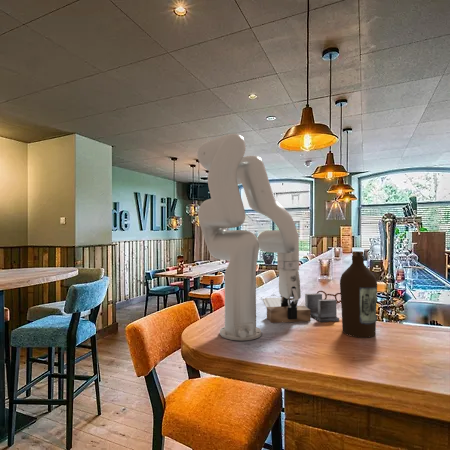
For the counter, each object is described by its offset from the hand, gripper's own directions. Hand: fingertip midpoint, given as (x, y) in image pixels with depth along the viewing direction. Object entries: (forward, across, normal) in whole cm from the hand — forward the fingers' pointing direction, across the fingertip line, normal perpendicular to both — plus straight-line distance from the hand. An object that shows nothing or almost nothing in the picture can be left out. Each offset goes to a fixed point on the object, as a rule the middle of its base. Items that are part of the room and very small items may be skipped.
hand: (288, 315), depth 115 cm
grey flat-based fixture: (+1, +3, -13) cm, 13 cm away
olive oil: (+2, -18, -16) cm, 24 cm away
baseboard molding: (+2, +19, -2) cm, 19 cm away
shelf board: (+1, 0, 0) cm, 1 cm away
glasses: (+2, +21, -24) cm, 32 cm away
